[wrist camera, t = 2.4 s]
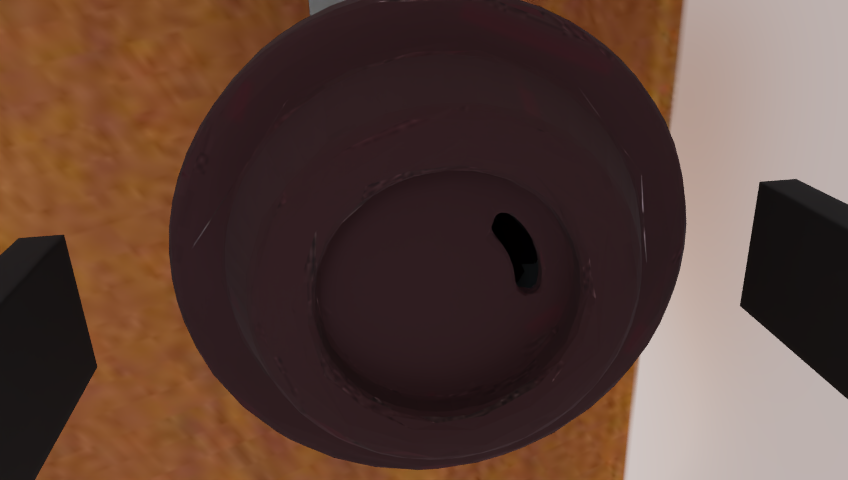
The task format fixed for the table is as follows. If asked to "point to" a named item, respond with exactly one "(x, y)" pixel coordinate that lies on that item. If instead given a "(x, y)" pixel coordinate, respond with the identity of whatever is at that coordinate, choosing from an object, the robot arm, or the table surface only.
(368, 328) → the coffee cup
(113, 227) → the table surface
